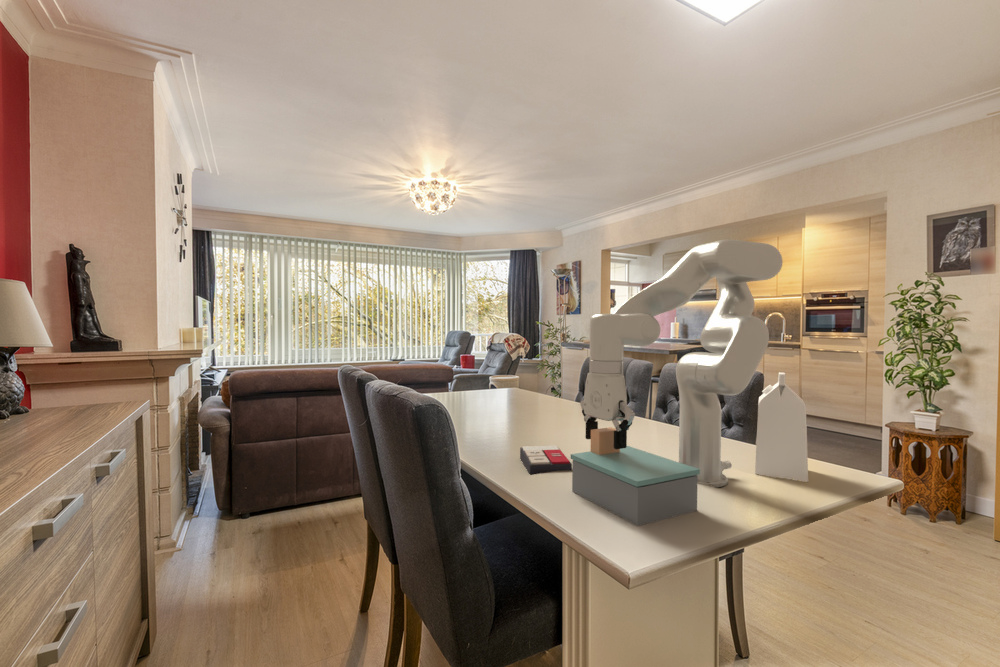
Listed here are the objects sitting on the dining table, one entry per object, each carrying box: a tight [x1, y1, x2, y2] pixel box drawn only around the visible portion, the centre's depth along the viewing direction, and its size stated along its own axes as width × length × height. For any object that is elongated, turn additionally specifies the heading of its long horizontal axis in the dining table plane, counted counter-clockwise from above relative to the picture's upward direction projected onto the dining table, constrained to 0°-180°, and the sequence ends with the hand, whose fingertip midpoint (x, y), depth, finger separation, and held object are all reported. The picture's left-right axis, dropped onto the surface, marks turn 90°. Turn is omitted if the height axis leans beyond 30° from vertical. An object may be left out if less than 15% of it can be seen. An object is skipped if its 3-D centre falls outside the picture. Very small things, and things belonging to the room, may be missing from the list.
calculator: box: [519, 445, 573, 476], centre depth 126 cm, size 11×4×15 cm
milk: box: [754, 371, 809, 483], centre depth 122 cm, size 12×12×26 cm
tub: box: [571, 460, 698, 527], centre depth 98 cm, size 16×20×8 cm
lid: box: [570, 426, 700, 487], centre depth 98 cm, size 17×20×6 cm
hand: (605, 443), depth 106 cm, fingers open, 9 cm apart
